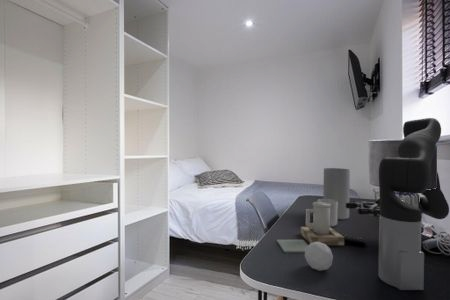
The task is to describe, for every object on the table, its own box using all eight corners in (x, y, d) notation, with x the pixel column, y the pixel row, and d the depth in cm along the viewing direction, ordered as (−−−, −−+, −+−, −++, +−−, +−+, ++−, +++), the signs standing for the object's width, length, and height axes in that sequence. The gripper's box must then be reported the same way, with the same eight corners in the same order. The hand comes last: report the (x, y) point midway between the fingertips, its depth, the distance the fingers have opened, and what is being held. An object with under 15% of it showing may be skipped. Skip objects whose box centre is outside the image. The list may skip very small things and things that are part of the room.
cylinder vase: (354, 218, 125) (355, 169, 125) (336, 220, 120) (337, 170, 120) (335, 212, 136) (336, 167, 136) (317, 214, 132) (318, 168, 132)
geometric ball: (310, 276, 72) (295, 251, 76) (330, 263, 75) (315, 238, 78) (322, 276, 66) (305, 247, 69) (344, 261, 68) (326, 234, 72)
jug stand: (344, 245, 90) (344, 237, 90) (312, 245, 89) (312, 237, 89) (329, 233, 102) (329, 226, 102) (300, 233, 101) (300, 226, 101)
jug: (333, 242, 92) (334, 205, 92) (309, 242, 92) (309, 205, 92) (325, 236, 99) (326, 201, 99) (303, 236, 99) (303, 201, 98)
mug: (335, 228, 108) (335, 203, 108) (314, 224, 113) (315, 201, 113) (339, 222, 118) (340, 199, 118) (320, 218, 123) (321, 197, 123)
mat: (313, 252, 83) (313, 250, 83) (284, 252, 83) (284, 250, 83) (302, 241, 93) (302, 239, 93) (276, 241, 93) (276, 239, 93)
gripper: (380, 194, 104) (342, 195, 103) (406, 202, 90) (363, 203, 89) (379, 212, 104) (342, 212, 103) (405, 223, 90) (362, 223, 89)
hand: (352, 208), depth 96 cm, fingers open, 8 cm apart
